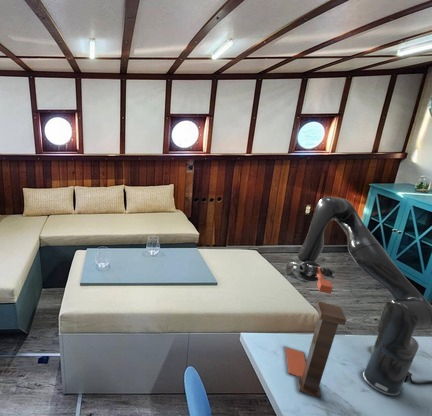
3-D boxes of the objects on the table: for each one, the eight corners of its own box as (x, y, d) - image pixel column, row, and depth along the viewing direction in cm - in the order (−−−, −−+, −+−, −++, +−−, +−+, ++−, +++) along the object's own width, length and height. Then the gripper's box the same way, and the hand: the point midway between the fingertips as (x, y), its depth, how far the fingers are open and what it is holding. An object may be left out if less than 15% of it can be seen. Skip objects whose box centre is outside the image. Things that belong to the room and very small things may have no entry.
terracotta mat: (285, 348, 113) (285, 347, 113) (303, 353, 110) (303, 352, 110) (288, 373, 102) (288, 372, 102) (308, 380, 99) (308, 379, 99)
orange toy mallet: (311, 268, 102) (312, 262, 101) (321, 270, 101) (322, 264, 100) (319, 291, 89) (321, 284, 88) (330, 294, 88) (332, 287, 87)
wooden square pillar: (296, 376, 101) (317, 301, 91) (317, 383, 98) (340, 306, 88) (299, 392, 95) (321, 313, 85) (320, 399, 93) (346, 319, 83)
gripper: (288, 258, 116) (298, 255, 100) (330, 265, 110) (346, 263, 94) (286, 276, 114) (295, 276, 99) (328, 285, 109) (344, 286, 93)
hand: (320, 270), depth 97 cm, fingers closed on orange toy mallet, 1 cm apart
